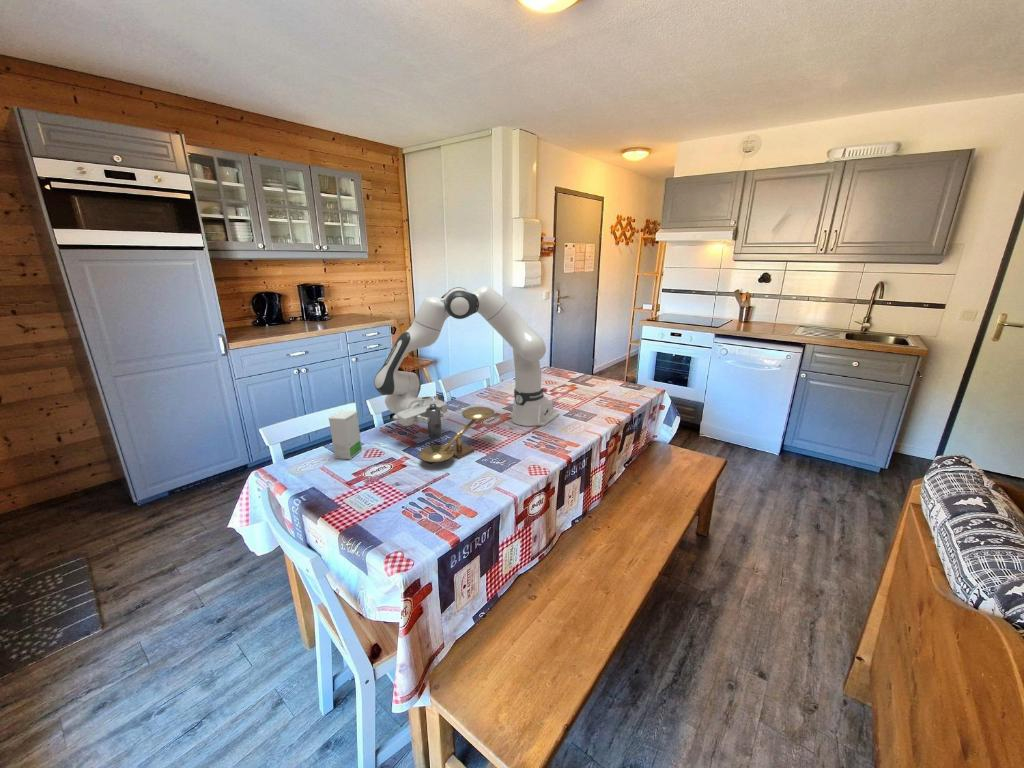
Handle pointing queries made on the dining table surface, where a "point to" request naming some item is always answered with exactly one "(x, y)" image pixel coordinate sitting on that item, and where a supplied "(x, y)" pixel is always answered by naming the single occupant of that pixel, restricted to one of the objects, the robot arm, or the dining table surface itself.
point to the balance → (456, 439)
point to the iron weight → (434, 421)
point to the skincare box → (345, 434)
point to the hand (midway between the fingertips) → (435, 417)
